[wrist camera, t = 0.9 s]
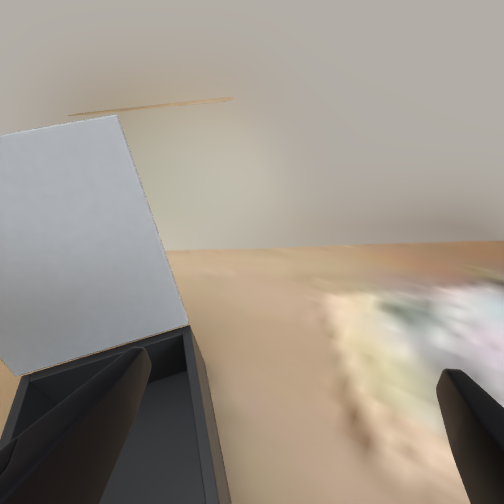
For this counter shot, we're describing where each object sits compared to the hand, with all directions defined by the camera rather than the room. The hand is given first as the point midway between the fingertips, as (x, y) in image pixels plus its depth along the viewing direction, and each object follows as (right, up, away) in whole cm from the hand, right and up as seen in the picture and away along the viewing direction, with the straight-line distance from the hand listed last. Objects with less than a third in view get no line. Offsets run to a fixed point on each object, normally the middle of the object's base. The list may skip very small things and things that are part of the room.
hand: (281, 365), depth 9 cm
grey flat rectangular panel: (-13, +3, +9) cm, 16 cm away
